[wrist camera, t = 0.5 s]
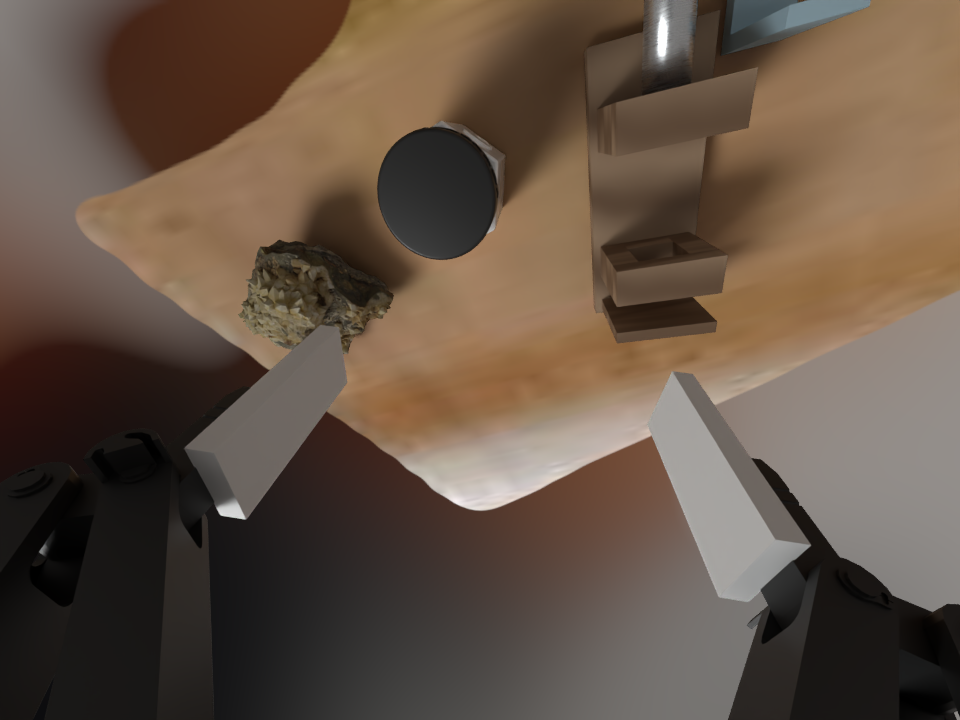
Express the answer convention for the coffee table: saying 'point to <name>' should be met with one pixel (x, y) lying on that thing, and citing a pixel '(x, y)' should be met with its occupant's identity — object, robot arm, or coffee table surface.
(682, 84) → the shaft
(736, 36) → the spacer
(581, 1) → the coffee table surface
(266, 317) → the mineral specimen
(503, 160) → the jar
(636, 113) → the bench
